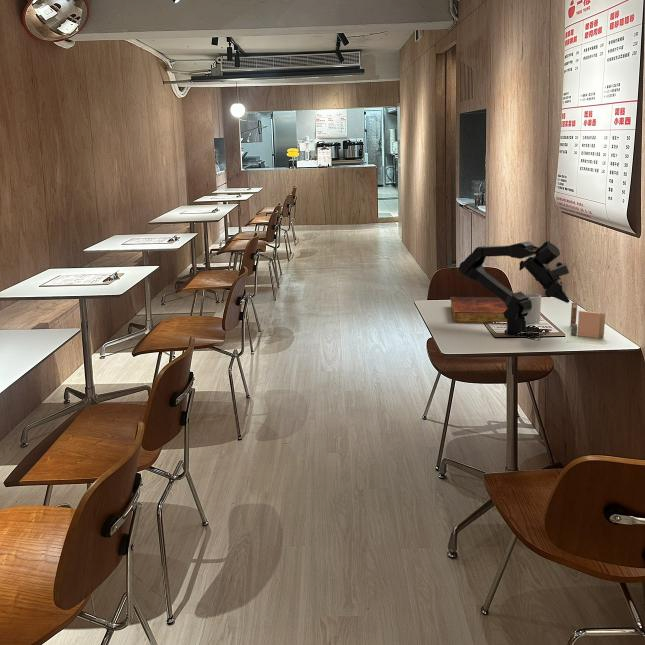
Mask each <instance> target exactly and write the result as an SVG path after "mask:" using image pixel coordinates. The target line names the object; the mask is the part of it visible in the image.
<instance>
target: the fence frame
mask: <svg viewBox="0 0 645 645" xmlns="http://www.w3.org/2000/svg"><path fill="white" fill-rule="evenodd" d="M577 310H578V302H575V301H572V302H571V311H570V312H571V313H570V324H569V326H570V327H571V335H572V336H576V335H577V327H578V323H577V315H578V314H577V313H578V311H577Z"/></svg>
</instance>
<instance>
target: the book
mask: <svg viewBox="0 0 645 645" xmlns="http://www.w3.org/2000/svg"><path fill="white" fill-rule="evenodd" d="M449 299H450V308H451V312H452V313H451V314H452V316H453V320H454V323H455V324H497V323H496V322H507V318H504V314H503V313H504V312H505V311H506V310H507V309H508V308H507V307H506V304H505V302H504V301H503V300H501V299H500V298H499V297H497V296H496V297H494V296H493V297H491V296H490V297H487V296H486V297H485V296H483V297H481V296H478V297H477V296H476V297H475V296H474V297H473V296H468V297H467V296H449ZM493 322H494V323H493Z"/></svg>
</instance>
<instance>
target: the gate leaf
mask: <svg viewBox="0 0 645 645" xmlns="http://www.w3.org/2000/svg"><path fill="white" fill-rule="evenodd" d="M577 320H578V321H577V327H578V332H577V335H582V336H589V337H597V338H604V339H605V337H604V336H605V323H606V312H596V311H587V310H578V319H577Z"/></svg>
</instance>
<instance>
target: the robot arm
mask: <svg viewBox="0 0 645 645" xmlns="http://www.w3.org/2000/svg"><path fill="white" fill-rule="evenodd" d="M533 255H534V256H533ZM560 255H561V252H560V249H559V247H558V246H556V245H555V244H553V243H552V242H551V241H550V240H547V241H544V243H543V244H542V245H540V246H536V245H534V244H533V243H532V241H523V242H519V243H514V244H511V245H493V246H492V245H490V246H485V245H483V246H477V247H476V248H475V249H474V250H473V251H472V252H471V253H470V254H469V255H468V256H467V257H466V258H465V259H464V261H462V262H461V263H460V264H459V267H458V269H459V273H460V275H462V276H463V277H465V278H467V279H470V280H473V281H476V282H478V283H479V284H480V285H482V286H483V287H484V288H486V289H487V290H488V291H490V292H491V293H492V294H494V296H496V297H499V298H500V299H501V300H503V301H504V302H505V304H506V307H507V308H508V309H507V310H506V311H505V312H504V313H503V314H504V318H507V324H506V327H505V328H506V329H505V332H507V333H506V335H508V334H518V333H520V332H521V331H523V330H525V329H526V330H527V324H526V321H525V316H527V315H528V313H529V312H530V310H531V309H532V302H531V300H530V299H528V298H529V297H527V296H525V295H524V294H523V292H522V291H517V292H513V291H512V290H511V289H509V288H508V287H506V286H505V285H504V284H502V283H501V282H500V281H498V279H495V278H494V277H493V276H492V275H490V274H489V273H488V272H487V271H486V269H485V267H484V265H483V264H484V263H485V260H486V258H487V257H510V258H514V259H517V260H518V259H519V260H520V262H519V268H518V269H519V271H522V270H523V269H524V268H525V269H526V270H527V271H528V273H529V274H530V275H531V276H532V277H533V278H534V280H535V281H536V282H538V283H539V285H540V286H542V288H543V289H544V295H545V296H546V297H547V298H551V297H552V298H555V299H557V300H560V301H562V302H564V303H566V304H569V303H570V299H569V297H568V295H567V294H566V292H565V290H564V289H563V281H560V280H562V277H561V276H564V275H568V274H570V270H569V267H568V265H567V263H562V262H561V261H558V262H556V263H555V264H556V266H554V267H553V268H550V267H549V266H547V265H549V264H550V263H551V262H553V261H554V260H556V259H557V258H558V257H560ZM526 258H527V259H526ZM521 259H525V260H521Z"/></svg>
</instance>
